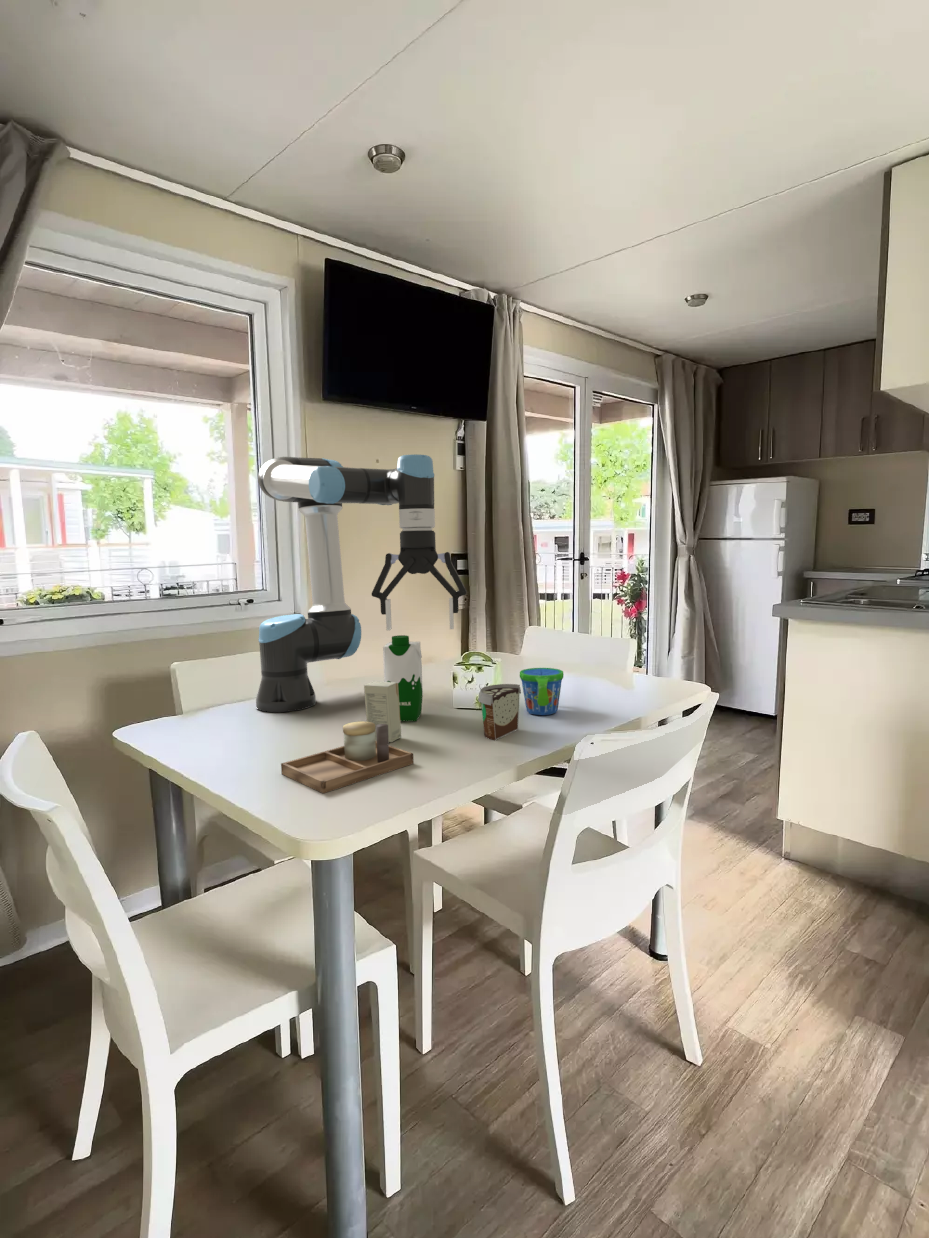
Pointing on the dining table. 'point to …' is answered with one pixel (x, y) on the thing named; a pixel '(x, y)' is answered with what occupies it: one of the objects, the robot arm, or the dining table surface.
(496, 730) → the food container
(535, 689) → the snack cup
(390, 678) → the milk carton
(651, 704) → the dining table surface
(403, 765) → the organizer
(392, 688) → the skincare box
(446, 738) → the dining table surface
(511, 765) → the dining table surface
